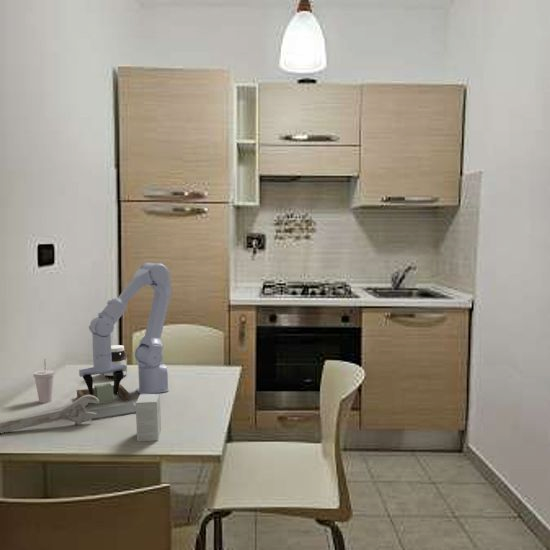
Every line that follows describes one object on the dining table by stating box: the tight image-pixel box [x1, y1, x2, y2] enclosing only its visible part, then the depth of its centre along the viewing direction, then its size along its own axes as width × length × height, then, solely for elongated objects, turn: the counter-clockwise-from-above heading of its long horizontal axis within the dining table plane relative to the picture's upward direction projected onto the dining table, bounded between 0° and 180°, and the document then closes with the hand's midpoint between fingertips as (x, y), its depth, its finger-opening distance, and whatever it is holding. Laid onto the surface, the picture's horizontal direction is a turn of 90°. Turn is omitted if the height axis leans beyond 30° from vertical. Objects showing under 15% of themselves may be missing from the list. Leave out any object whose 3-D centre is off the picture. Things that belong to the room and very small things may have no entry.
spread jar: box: [100, 344, 128, 380], centre depth 220 cm, size 12×11×12 cm
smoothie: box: [33, 358, 55, 404], centre depth 189 cm, size 6×6×14 cm
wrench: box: [0, 395, 100, 434], centre depth 163 cm, size 8×2×30 cm
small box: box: [135, 393, 162, 443], centre depth 155 cm, size 8×6×10 cm
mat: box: [86, 402, 136, 421], centre depth 177 cm, size 14×9×1 cm, turn 118°
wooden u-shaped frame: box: [76, 383, 130, 408], centre depth 191 cm, size 14×12×2 cm
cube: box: [93, 382, 114, 405], centre depth 189 cm, size 5×5×5 cm
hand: (103, 395), depth 189 cm, fingers open, 7 cm apart
